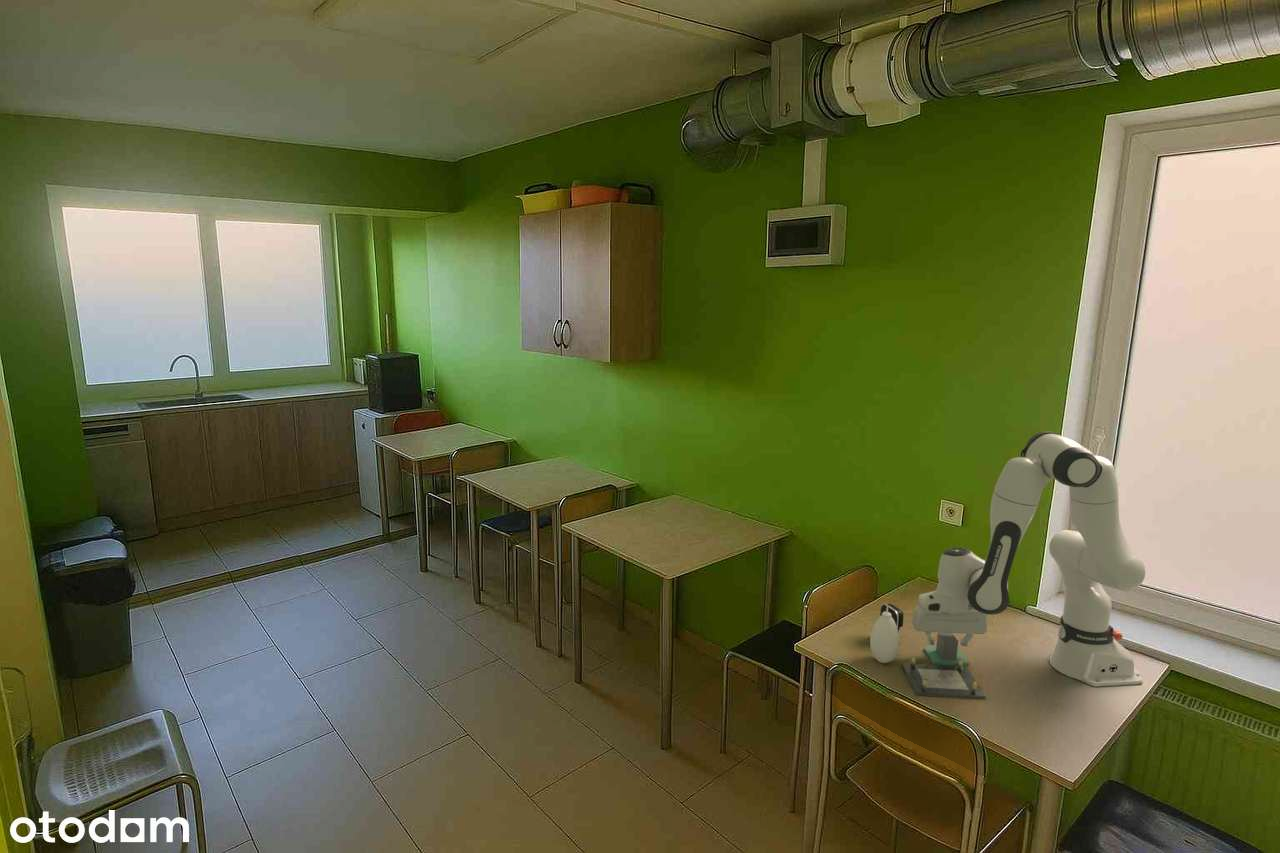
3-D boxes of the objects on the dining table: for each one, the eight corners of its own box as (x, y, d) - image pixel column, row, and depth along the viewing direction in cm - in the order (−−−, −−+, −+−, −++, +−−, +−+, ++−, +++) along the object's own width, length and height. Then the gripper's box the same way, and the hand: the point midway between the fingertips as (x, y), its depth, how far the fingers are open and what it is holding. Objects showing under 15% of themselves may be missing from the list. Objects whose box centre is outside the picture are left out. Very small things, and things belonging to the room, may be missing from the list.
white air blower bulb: (872, 651, 209) (876, 596, 205) (899, 658, 205) (904, 602, 201) (865, 663, 203) (870, 607, 198) (893, 671, 199) (899, 614, 195)
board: (957, 651, 210) (959, 630, 208) (968, 666, 202) (971, 644, 200) (923, 650, 210) (925, 629, 208) (933, 665, 202) (935, 643, 201)
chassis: (966, 669, 200) (968, 657, 199) (985, 698, 186) (987, 686, 185) (902, 665, 201) (903, 654, 201) (915, 694, 188) (917, 682, 187)
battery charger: (903, 645, 212) (906, 610, 210) (893, 647, 211) (896, 613, 209) (887, 634, 219) (890, 600, 216) (877, 636, 217) (880, 602, 215)
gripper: (985, 598, 204) (979, 640, 207) (912, 594, 206) (908, 637, 209) (993, 608, 197) (988, 652, 201) (919, 605, 199) (914, 648, 203)
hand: (947, 644), depth 205 cm, fingers open, 8 cm apart
